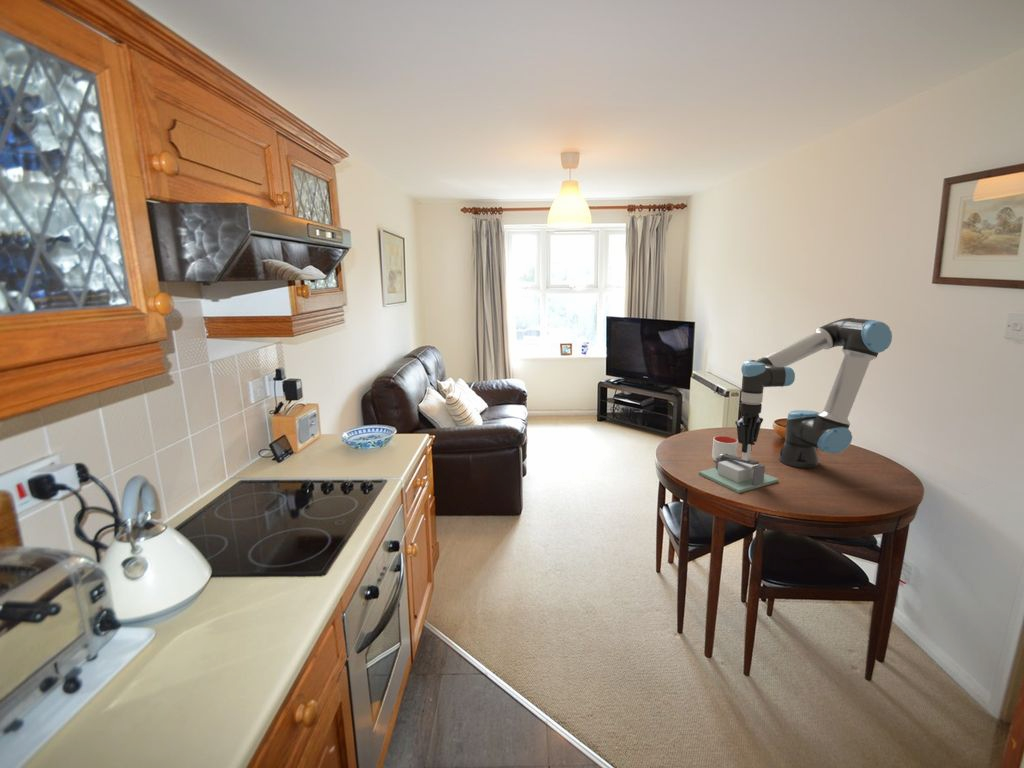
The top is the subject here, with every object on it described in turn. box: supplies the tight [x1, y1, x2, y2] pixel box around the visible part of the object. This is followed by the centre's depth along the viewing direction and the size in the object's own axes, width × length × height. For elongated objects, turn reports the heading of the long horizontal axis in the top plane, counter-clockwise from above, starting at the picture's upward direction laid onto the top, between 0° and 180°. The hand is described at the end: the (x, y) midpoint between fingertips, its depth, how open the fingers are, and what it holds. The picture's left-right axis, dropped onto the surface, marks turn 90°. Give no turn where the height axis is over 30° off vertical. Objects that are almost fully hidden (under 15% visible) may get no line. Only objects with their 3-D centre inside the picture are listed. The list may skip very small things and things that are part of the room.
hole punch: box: [698, 457, 779, 494], centre depth 197 cm, size 22×20×9 cm
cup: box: [711, 435, 739, 462], centre depth 215 cm, size 10×10×10 cm
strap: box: [718, 453, 760, 465], centre depth 197 cm, size 4×17×1 cm, turn 25°
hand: (745, 459), depth 193 cm, fingers closed
